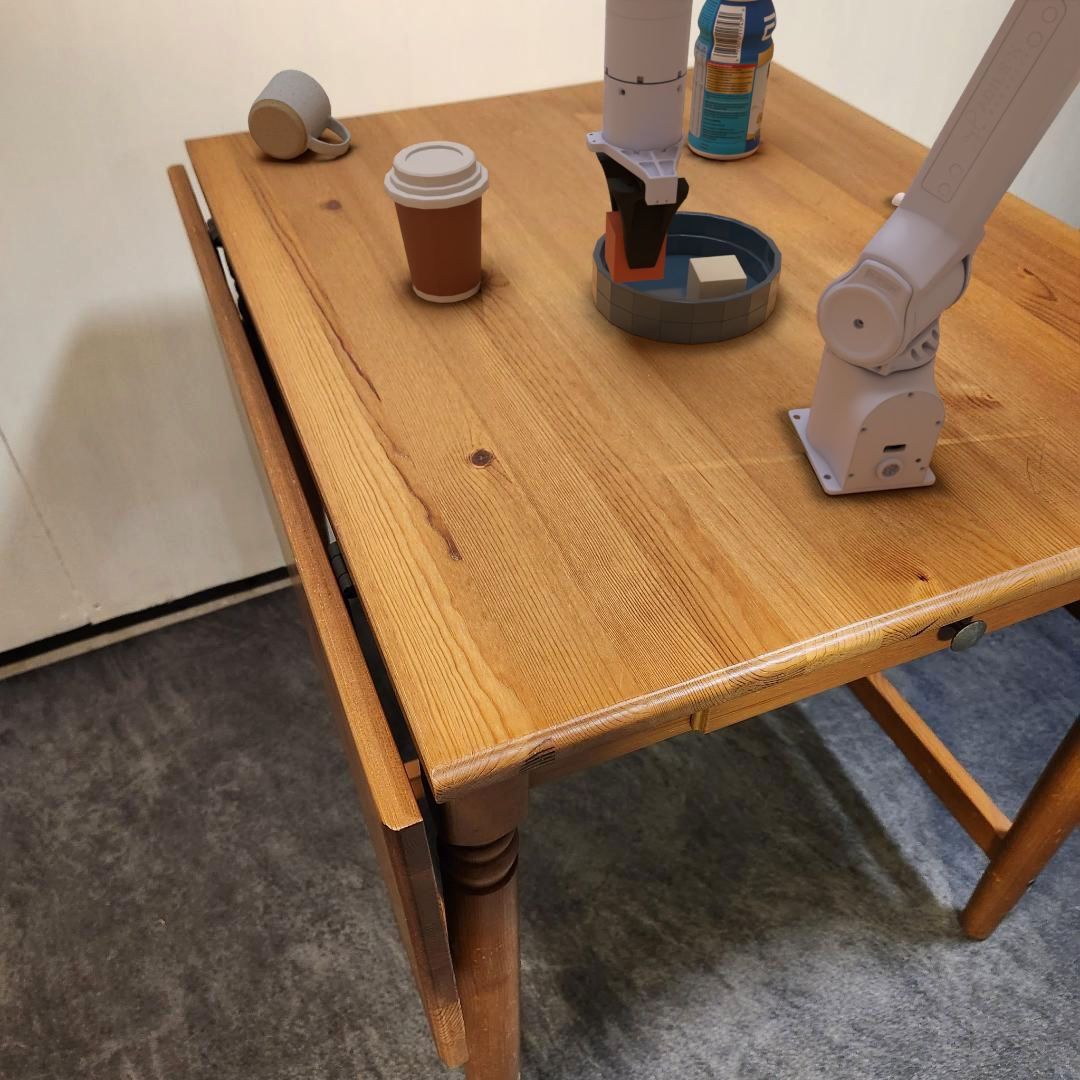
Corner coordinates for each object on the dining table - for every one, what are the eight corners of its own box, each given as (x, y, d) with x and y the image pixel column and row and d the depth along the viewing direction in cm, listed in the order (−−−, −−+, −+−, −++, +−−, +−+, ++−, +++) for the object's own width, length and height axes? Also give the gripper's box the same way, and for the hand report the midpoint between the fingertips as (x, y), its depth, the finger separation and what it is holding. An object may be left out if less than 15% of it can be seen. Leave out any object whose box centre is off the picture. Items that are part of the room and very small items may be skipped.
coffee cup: (459, 320, 84) (447, 189, 75) (378, 294, 87) (357, 166, 79) (514, 274, 89) (508, 147, 81) (436, 252, 93) (422, 128, 84)
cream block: (741, 319, 82) (747, 277, 79) (695, 323, 81) (700, 281, 79) (729, 295, 84) (734, 254, 82) (685, 299, 84) (689, 258, 81)
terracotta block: (663, 278, 74) (667, 231, 71) (613, 283, 74) (615, 235, 71) (652, 254, 77) (656, 207, 74) (604, 258, 77) (606, 211, 74)
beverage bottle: (671, 142, 110) (686, -56, 96) (730, 127, 113) (753, -68, 99) (714, 168, 105) (736, -37, 91) (775, 152, 107) (806, -50, 93)
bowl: (797, 341, 80) (806, 293, 77) (609, 357, 79) (610, 310, 76) (745, 249, 92) (751, 205, 88) (580, 262, 90) (581, 218, 87)
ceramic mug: (251, 161, 109) (235, 92, 103) (277, 133, 114) (263, 66, 109) (339, 167, 107) (328, 97, 102) (361, 138, 113) (351, 71, 108)
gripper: (572, 39, 70) (571, 213, 79) (606, 113, 60) (601, 303, 69) (665, 33, 70) (654, 207, 80) (715, 105, 60) (695, 295, 70)
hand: (635, 251), depth 75 cm, fingers closed on terracotta block, 4 cm apart
